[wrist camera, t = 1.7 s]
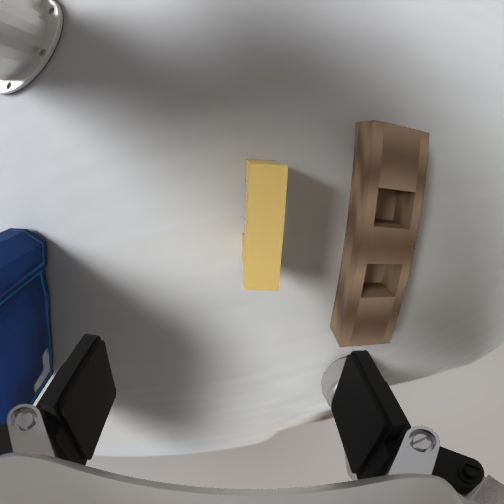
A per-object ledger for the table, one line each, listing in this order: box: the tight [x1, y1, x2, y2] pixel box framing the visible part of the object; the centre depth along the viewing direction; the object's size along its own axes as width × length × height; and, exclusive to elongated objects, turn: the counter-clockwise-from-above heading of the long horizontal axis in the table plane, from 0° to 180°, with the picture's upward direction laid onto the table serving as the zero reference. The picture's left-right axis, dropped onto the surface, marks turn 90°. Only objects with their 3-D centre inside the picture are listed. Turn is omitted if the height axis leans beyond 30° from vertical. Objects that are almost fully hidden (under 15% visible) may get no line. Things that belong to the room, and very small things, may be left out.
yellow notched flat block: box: [242, 159, 288, 290], centre depth 25 cm, size 9×2×8 cm, turn 177°
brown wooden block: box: [330, 120, 429, 347], centre depth 28 cm, size 22×6×4 cm, turn 177°
